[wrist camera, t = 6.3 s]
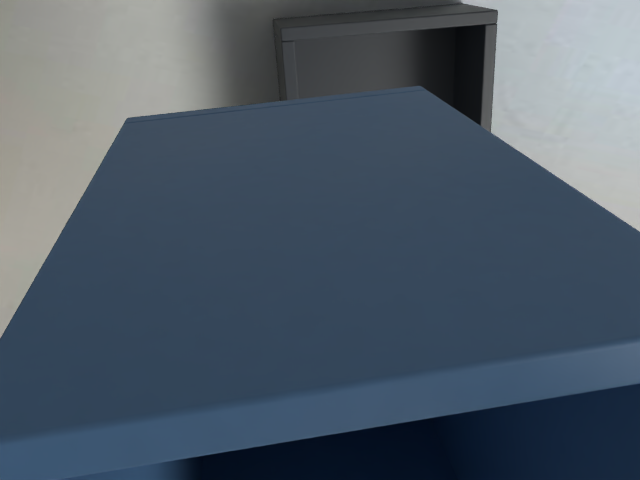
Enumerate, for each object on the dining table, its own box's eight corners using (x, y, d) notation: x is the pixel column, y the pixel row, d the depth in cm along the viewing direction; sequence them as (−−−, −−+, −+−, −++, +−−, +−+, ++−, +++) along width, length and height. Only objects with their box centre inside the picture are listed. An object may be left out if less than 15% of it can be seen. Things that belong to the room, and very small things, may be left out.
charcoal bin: (272, 18, 31) (279, 27, 27) (463, 3, 32) (498, 10, 28) (292, 233, 36) (300, 268, 32) (456, 214, 38) (484, 245, 34)
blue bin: (125, 117, 16) (-69, 451, 5) (421, 84, 17) (774, 318, 6) (190, 412, 20) (155, 924, 10) (422, 375, 21) (629, 811, 10)
